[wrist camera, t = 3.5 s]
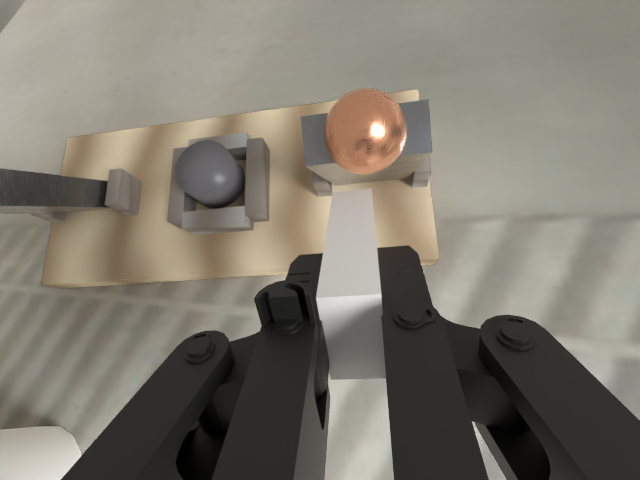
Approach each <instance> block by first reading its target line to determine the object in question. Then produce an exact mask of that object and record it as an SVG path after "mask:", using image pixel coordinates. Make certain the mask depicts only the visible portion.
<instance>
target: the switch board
mask: <svg viewBox="0 0 640 480" xmlns="http://www.w3.org/2000/svg"><path fill="white" fill-rule="evenodd" d="M387 94H388V95H390V96H391V97H392V98H393V99H394V100H395V101H396V102H397V103H405V102H412V101H419V93H418V89H416V90H409V91H402V92H394V93H387ZM335 102H336V101H329V102H322V103H315V104H308V105H300V106H293V107H286V108H279V109H272V110H264V111H257V112H250V113H243V114H235V115H228V116H221V117H214V118H207V119H199V120H192V121H185V122H178V123H170V124H163V125H156V126H149V127H142V128H134V129H127V130H120V131H113V132H105V133H98V134H91V135H84V136H77V137H69V138H67V143H66V149H65V154H64V160H63V165H62V171H61V176H69V177H78V178H87V179H95V180H104V181H108V184H107V191H106V198H105V205H106V206H108V207H110V209H100V210H90V211H80V212H70V213H29V214H32V215H34V216H37V217H40V218H43V219H45V220H48V221H51V222H52V226H51V231H50V236H49V242H48V247H47V253H46V258H45V264H44V269H43V275H42V280H41V285H45V286H51V287H56V288H77V287H93V286H109V285H124V284H140V283H155V282H171V281H186V280H202V279H217V278H233V277H249V276H264V275H280V274H288V270H289V267H290V264H291V263H292V262H293V261H294V260H295V259H296V258H297V257H298V256H299V255H304V254H317V253H323V250H324V244H325V238H326V232H327V225H328V219H329V213H330V207H331V200H332V194H333V192H342V191H351V190H361V189H371V188H372V198H373V208H374V219H375V230H376V241H377V248H381V247H393V246H406V245H409V246H410V247H411V248H413V249H414V250H415V251H416V252H417V253H418V255H419V258H420V262H421V265H435V264H436V262H437V261H438V259H439V254H438V246H437V238H436V230H435V222H434V213H433V205H432V197H431V189H430V181H429V177H430V173H431V166H430V158H429V156H428V157H427V158H426V159H425V160H424V161H423V162H422V164H421V165H420V166H419V167H418V168H417V169H416V170H415V171H414V172H413V173H412V174H411V175H410V176H409V177H408V178H404V179H395V180H385V181H375V182H365V183H355V184H345V185H334V184H332V183H330V182H329V181H327V180H326V179H324V178H323V177H321V176H319V175H318V174H316V173H315V172H313V171H312V170H310V169H308V168H307V167H305V159H304V148H303V137H302V126H301V116H308V115H315V114H323V113H329V111H330V109H331V108H332V106H333V105H334V104H335ZM203 140H212V141H216V142H219V143H220V144H222V145H223V146H224V147H225V148H226V149H227V150H228V151H229V153H230V154H231V155H232V156H233V157H234V159H235V160H236V161H237V162H238V164H239V165H240V166H241V167H242V169H243V171H244V174H245V185H244V188H243V191H242V193H241V194H240V196H239V197H238V198H237V199H236V200H235V201H234V202H233V203H232V204H230V205H228V206H226V207H223V208H216V209H214V208H209V207H206V206H204V205H202V204H201V203H200V202H198V201H197V200H196V199H194V198H193V197H192V196H190V195H189V194H188V193H187V192H185V191H184V190H183V189H181V187H180V186H179V185H178V183H177V181H176V178H175V166H176V163H177V160H178V158H179V157H180V155H181V154H182V152H183V151H184V150H185V149H186V148H188V147H189V146H190V145H192V144H194V143H196V142H199V141H203Z"/></svg>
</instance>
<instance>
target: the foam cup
mask: <svg viewBox="0 0 640 480" xmlns="http://www.w3.org/2000/svg"><path fill="white" fill-rule="evenodd" d="M80 457H81V451H80V449H79V447H78V445H77V443H76V440H75V438H74V436H73V435H72V434H70V433H69V432H67V431H66V430H64V429H63V428H61V427H60V426H42V427H25V428H14V429H2V430H0V480H61V479H62V478H63V476H64V475H65V474H66V473H67V472H68V471H69V470H70V468H71V467H72V466H73V465H74V464H75V463H76V462H77V460H78V459H79V458H80Z"/></svg>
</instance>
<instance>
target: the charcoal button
mask: <svg viewBox="0 0 640 480" xmlns="http://www.w3.org/2000/svg"><path fill="white" fill-rule="evenodd" d="M175 178H176V181H177V183H178V185H179V186H180V187H181V189H183V190H184V191H185V192H187V193H188V194H189V195H190V196H192V197H193V198H194V199H196V200H197V201H198V202H200V203H201V204H202V205H204V206H206V207H209V208H214V209H216V208H223V207H226V206H228V205H230V204H232V203H233V202H234V201H235V200H236V199H237V198H238V197H239V196H240V194H241V193H242V191H243V188H244V185H245V174H244V171H243V169H242V167H241V166H240V165H239V164H238V162H237V161H236V160H235V159H234V157H233V156H232V155H231V154H230V153H229V151H228V150H227V149H226V148H225V147H224V146H223V145H222V144H220V143H219V142H216V141H212V140H203V141H199V142H196V143H194V144H192V145H190V146H189V147H188V148H186V149H185V150H184V151H183V152H182V154H181V155H180V157H179V158H178V160H177V163H176V166H175Z"/></svg>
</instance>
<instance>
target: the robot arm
mask: <svg viewBox="0 0 640 480" xmlns="http://www.w3.org/2000/svg"><path fill="white" fill-rule="evenodd" d="M254 300H255V303H256V307H257V310H258V314H259V317H260V321H261V324H262V327H261V330H260V332H258V333H256V334H254V335H251V336H248V337H245V338H242V339H238V340H235V341H231V342H229V340H228V338H227V337H226V336H225V334H224V333H221V332H218V331H204V332H200V333H197V334H194V335H192V336H191V337H189V338H187V339H185V340H184V341H183V342H182V343H181V344H180V345H178V346H177V347H176V348H175V350H174V351H173V352H172V353H171V354H170V355H169V356H168V358H167V359H166V360H165V361H164V362H163V363H162V364H161V366H160V367H159V368H158V369H157V370H156V371H155V372H154V374H153V375H152V376H151V377H150V378H149V379H148V380H147V382H146V383H145V384H144V385H143V386H142V387H141V388H140V390H139V391H138V392H137V393H136V394H135V395H134V396H133V398H132V399H131V400H130V401H129V402H128V403H127V404H126V406H125V407H124V408H123V409H122V410H121V411H120V412H119V414H118V415H117V416H116V417H115V418H114V419H113V420H112V422H111V423H110V424H109V425H108V426H107V427H106V428H105V430H104V431H103V432H102V433H101V434H100V435H99V436H98V438H97V439H96V440H95V441H94V442H93V443H92V444H91V446H90V447H89V448H88V449H87V450H86V451H85V452H84V454H83V455H82V456H81V457H80V458H79V459H78V460H77V462H76V463H75V464H74V465H73V466H72V467H71V468H70V470H69V471H68V472H67V473H66V474H65V475H64V476H63V478H62V479H61V480H324V476H325V462H326V449H327V435H328V421H329V408H330V393H329V387H328V374H329V372H330V377H331V379H370V378H386V382H387V395H388V407H389V420H390V432H391V445H392V457H393V470H394V480H489V479H488V476H487V472H486V469H485V465H484V462H483V459H482V455H481V452H480V448H479V445H478V441H477V438H476V435H475V431H474V428H473V424H472V421H473V422H475V424H476V427H477V429H478V430H479V432H480V434H481V435H482V437H483V439H484V441H485V442H486V444H487V446H488V448H489V449H490V451H491V453H492V455H493V456H494V458H495V460H496V461H497V463H498V465H499V467H500V468H501V470H502V472H503V474H504V475H505V477H506V479H507V480H640V420H638V419H637V418H636V417H635V416H634V415H633V414H632V413H631V412H630V411H629V410H628V409H627V408H626V407H625V406H624V405H623V404H622V403H621V402H620V401H619V400H618V399H617V398H616V397H615V396H614V395H613V394H612V393H611V392H610V391H609V390H608V389H607V388H606V387H604V386H603V385H602V384H601V383H600V382H599V381H598V380H597V379H596V378H595V377H594V376H593V375H592V374H591V373H590V372H589V371H588V370H587V369H586V368H585V367H584V366H583V365H582V364H581V363H580V362H579V361H578V360H577V359H576V358H575V357H574V356H573V355H571V354H570V353H569V352H568V351H567V350H566V349H565V348H564V347H563V346H562V345H561V344H560V343H559V342H558V341H557V340H556V339H555V338H554V337H553V336H552V335H551V334H550V333H549V332H548V331H547V330H546V329H544V328H543V327H541V326H540V325H539V324H537V323H536V322H534V321H531V320H529V319H526V318H524V317H519V316H513V315H501V316H495V317H492V318H490V319H487V320H486V321H485V322H484V323H483V324H482V325H481V329H479V328H473V327H468V326H463V325H459V324H455V323H453V322H450V321H448V320H446V319H444V318H443V317H442V316H440V314H439V313H438V311H437V310H436V309H435V308H434V307H433V305H432V302H431V298H430V294H429V291H428V287H427V284H426V280H425V276H424V274H423V269H422V266H421V262H420V258H419V255H418V253H417V252H416V251H415V250H414V249H413V248H411V247H410V246H409V245H406V246H393V247H381V248H377V241H376V230H375V219H374V208H373V198H372V188H371V189H361V190H351V191H342V192H333V194H332V200H331V207H330V213H329V219H328V225H327V232H326V238H325V244H324V250H323V253H317V254H304V255H299V256H298V257H297V258H296V259H295V260H294V261H293V262H292V263H291V264H290V267H289V270H288V276H287V277H286V280H285V281H279V282H275V283H273V284H270V285H268V286H266V287H265V288H263V289H262V290H261V291H259V292H258V294H257V295H256V297H255V298H254Z"/></svg>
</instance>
